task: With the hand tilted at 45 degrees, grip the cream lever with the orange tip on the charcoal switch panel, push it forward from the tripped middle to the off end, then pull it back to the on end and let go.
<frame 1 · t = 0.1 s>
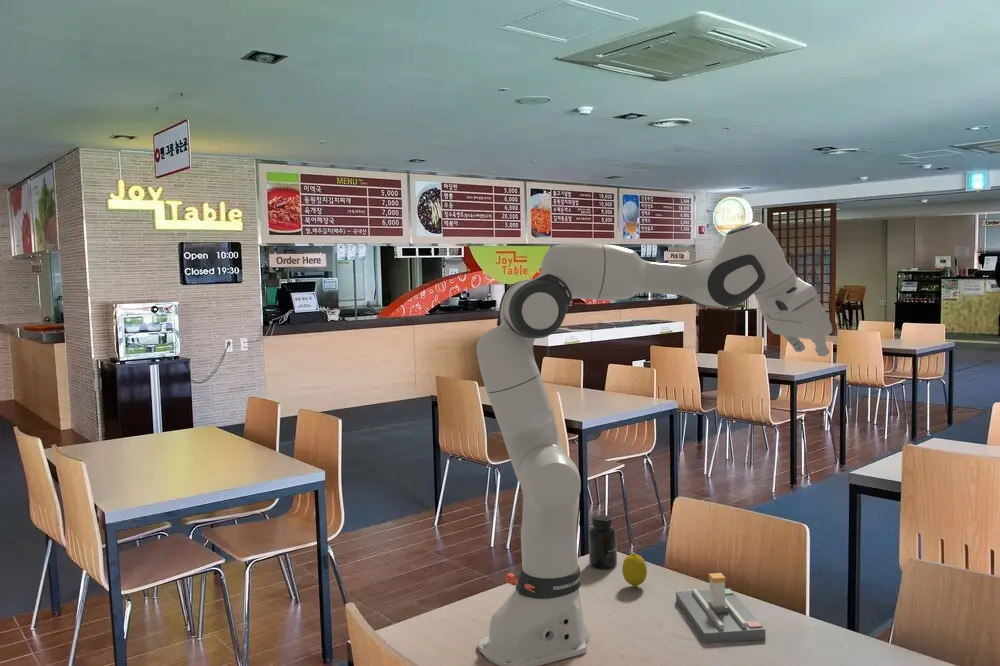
hand: (812, 352, 161), 54 cm above the table, tool tilted 30°, fingers open, 8 cm apart
breaker lever: (717, 592, 163), point 6 cm above the table, slide at 0.0 cm
switch panel: (718, 618, 163), on the table
supplement bottle: (603, 565, 196), on the table
lemon: (635, 587, 181), on the table
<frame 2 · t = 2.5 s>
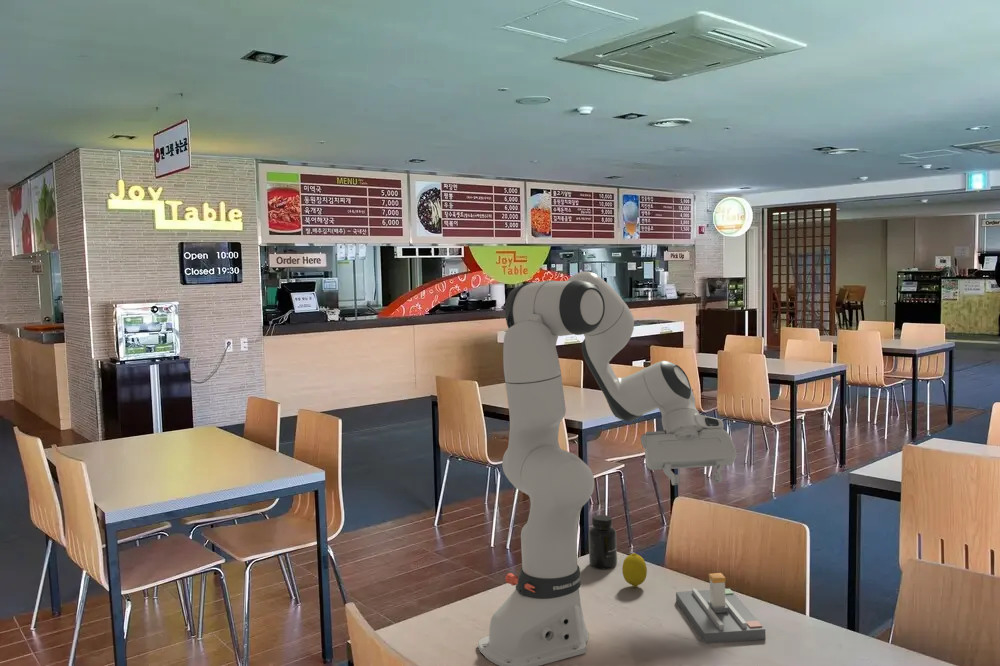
hand: (697, 482, 173), 25 cm above the table, tool tilted 45°, fingers open, 8 cm apart
nothing on the table moved.
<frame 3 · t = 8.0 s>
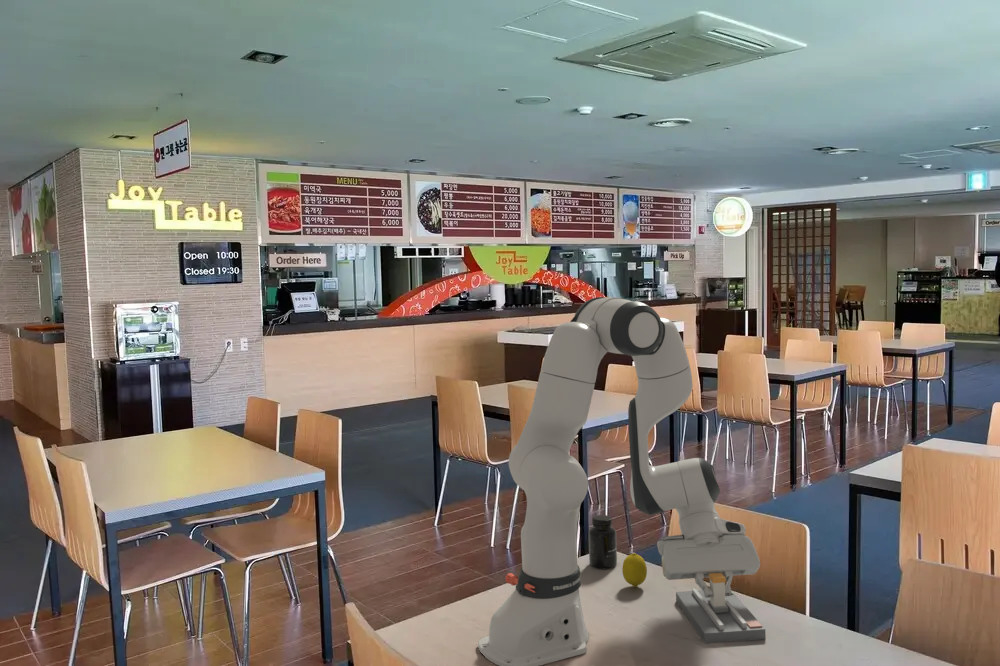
hand: (718, 595, 162), 5 cm above the table, tool tilted 45°, fingers closed on breaker lever, 2 cm apart
breaker lever: (717, 592, 163), point 6 cm above the table, slide at 0.0 cm, touching gripper
everything else where it was.
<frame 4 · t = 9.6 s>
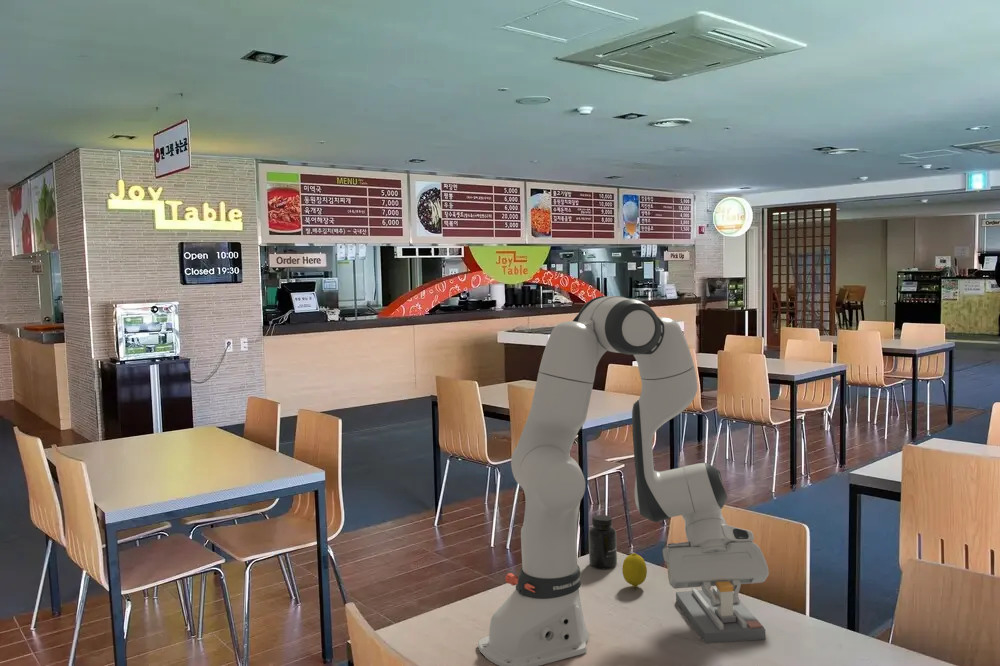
hand: (726, 605, 157), 5 cm above the table, tool tilted 45°, fingers closed on breaker lever, 2 cm apart
breaker lever: (724, 601, 158), point 6 cm above the table, slide at 4.5 cm, touching gripper
everything else where it was.
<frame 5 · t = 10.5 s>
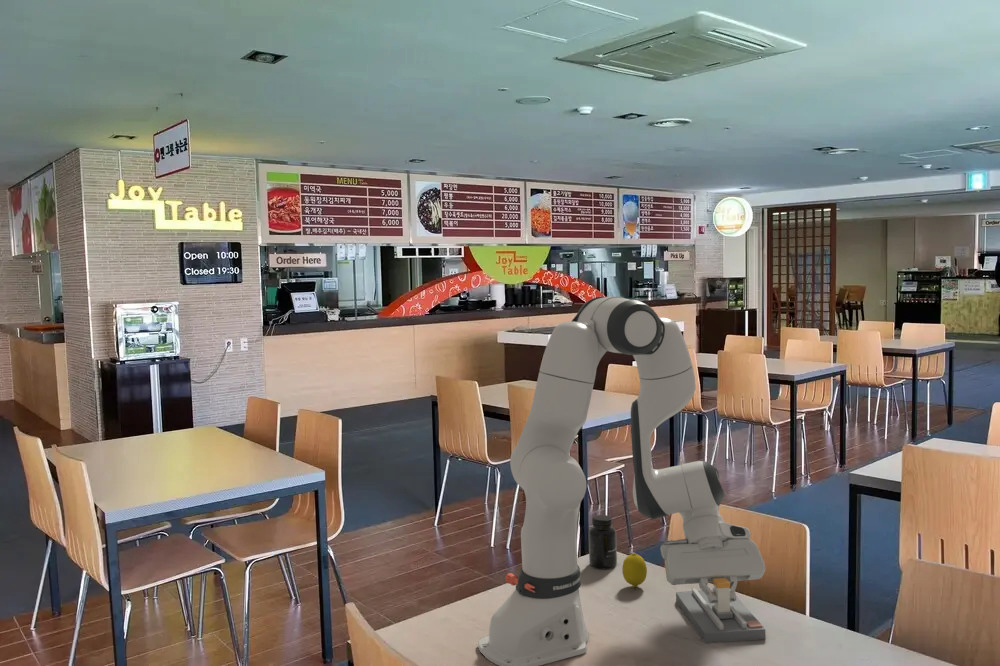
hand: (723, 601, 159), 5 cm above the table, tool tilted 45°, fingers closed on breaker lever, 2 cm apart
breaker lever: (721, 597, 160), point 6 cm above the table, slide at 2.7 cm, touching gripper
everything else where it was.
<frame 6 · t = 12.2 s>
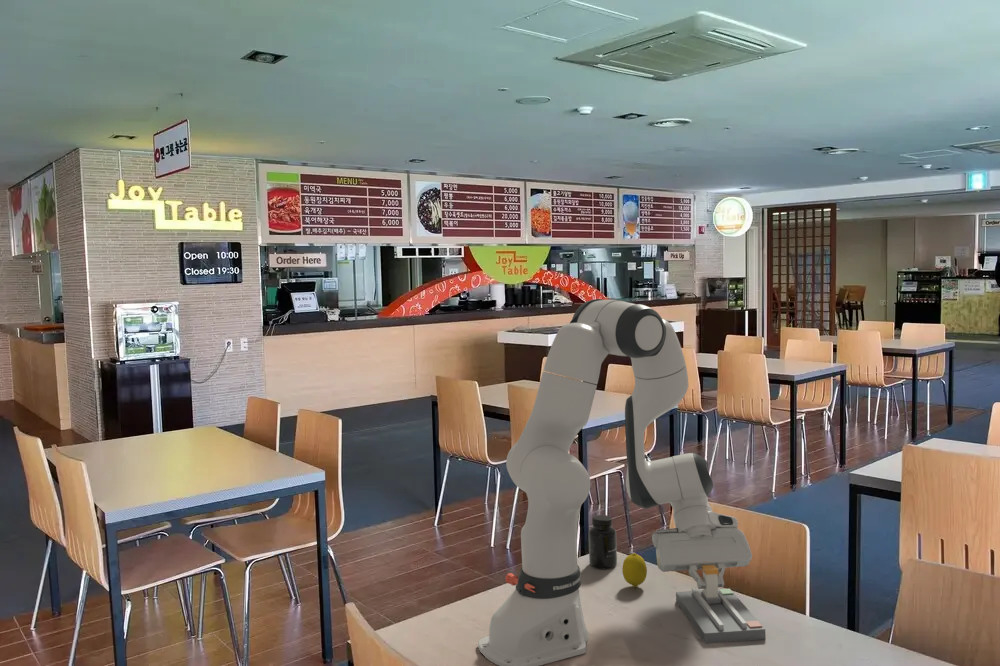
hand: (711, 587, 167), 5 cm above the table, tool tilted 45°, fingers closed on breaker lever, 2 cm apart
breaker lever: (710, 583, 167), point 6 cm above the table, slide at -4.5 cm, touching gripper
everything else where it was.
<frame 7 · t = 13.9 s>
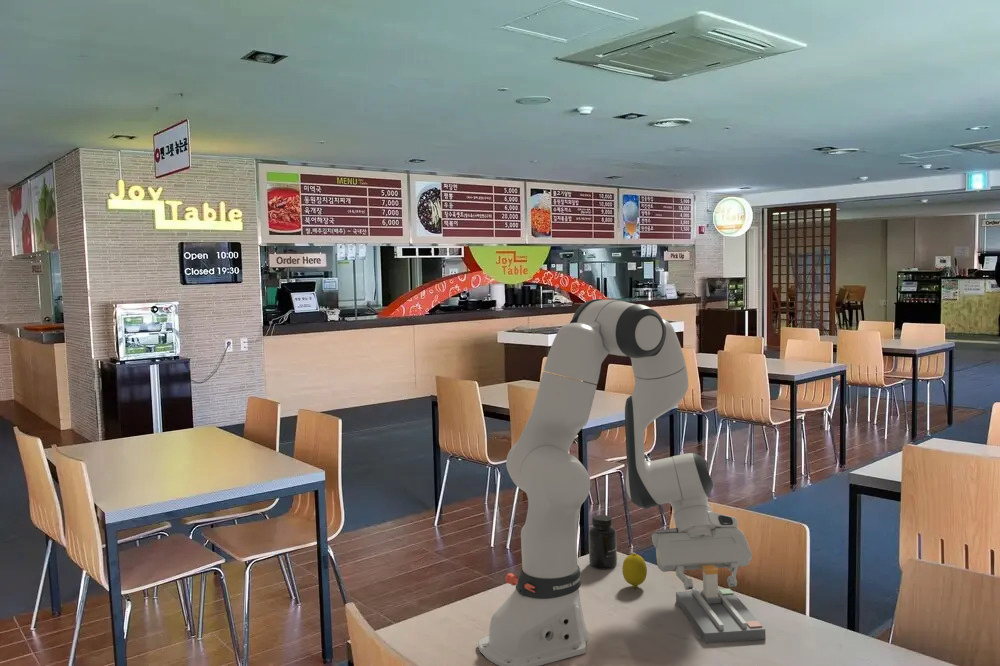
hand: (711, 587, 167), 5 cm above the table, tool tilted 45°, fingers open, 8 cm apart
breaker lever: (710, 583, 167), point 6 cm above the table, slide at -4.6 cm
everything else where it was.
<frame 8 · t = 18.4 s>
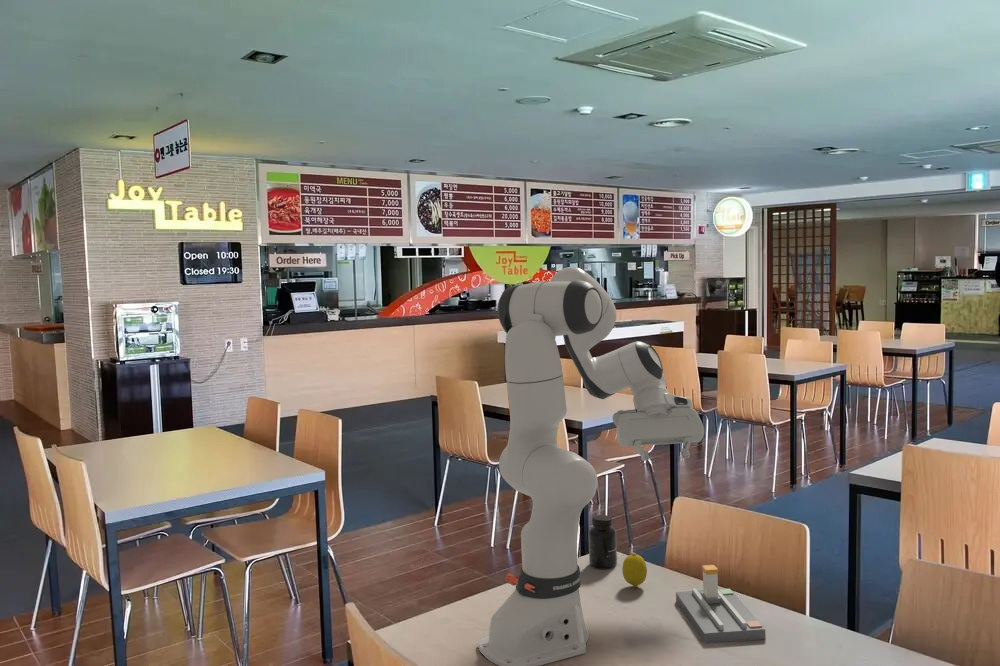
hand: (666, 458, 181), 29 cm above the table, tool tilted 45°, fingers open, 8 cm apart
nothing on the table moved.
at the end: breaker lever slide at -4.6 cm; the gripper is holding nothing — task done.
